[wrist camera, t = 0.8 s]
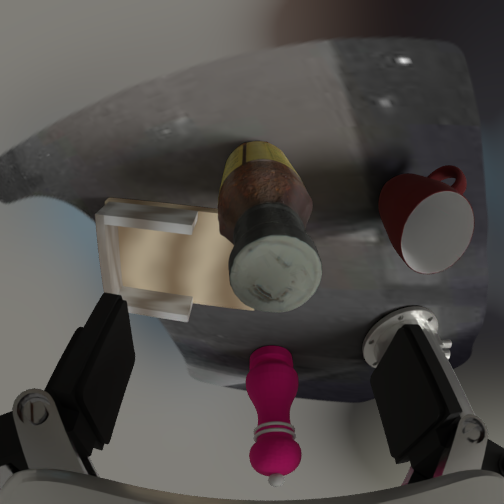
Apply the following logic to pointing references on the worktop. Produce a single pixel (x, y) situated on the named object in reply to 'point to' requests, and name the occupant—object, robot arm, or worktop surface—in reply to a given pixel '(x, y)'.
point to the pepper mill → (273, 412)
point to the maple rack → (164, 257)
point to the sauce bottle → (267, 229)
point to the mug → (427, 218)
